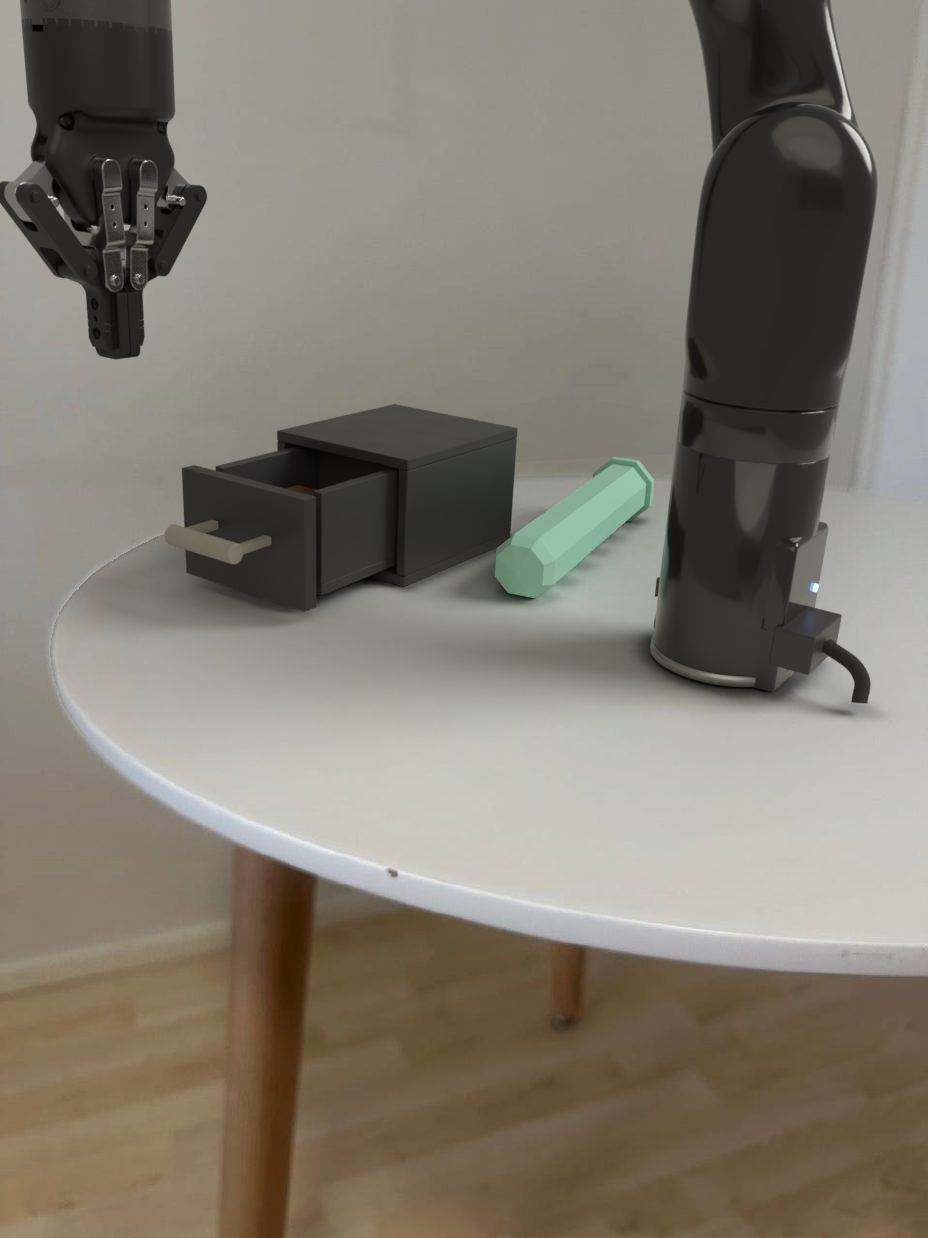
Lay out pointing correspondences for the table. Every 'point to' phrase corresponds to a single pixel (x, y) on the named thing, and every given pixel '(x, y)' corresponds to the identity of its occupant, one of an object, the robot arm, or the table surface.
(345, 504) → the drawer
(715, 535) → the robot arm
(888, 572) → the table surface
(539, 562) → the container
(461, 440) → the small storage cabinet
